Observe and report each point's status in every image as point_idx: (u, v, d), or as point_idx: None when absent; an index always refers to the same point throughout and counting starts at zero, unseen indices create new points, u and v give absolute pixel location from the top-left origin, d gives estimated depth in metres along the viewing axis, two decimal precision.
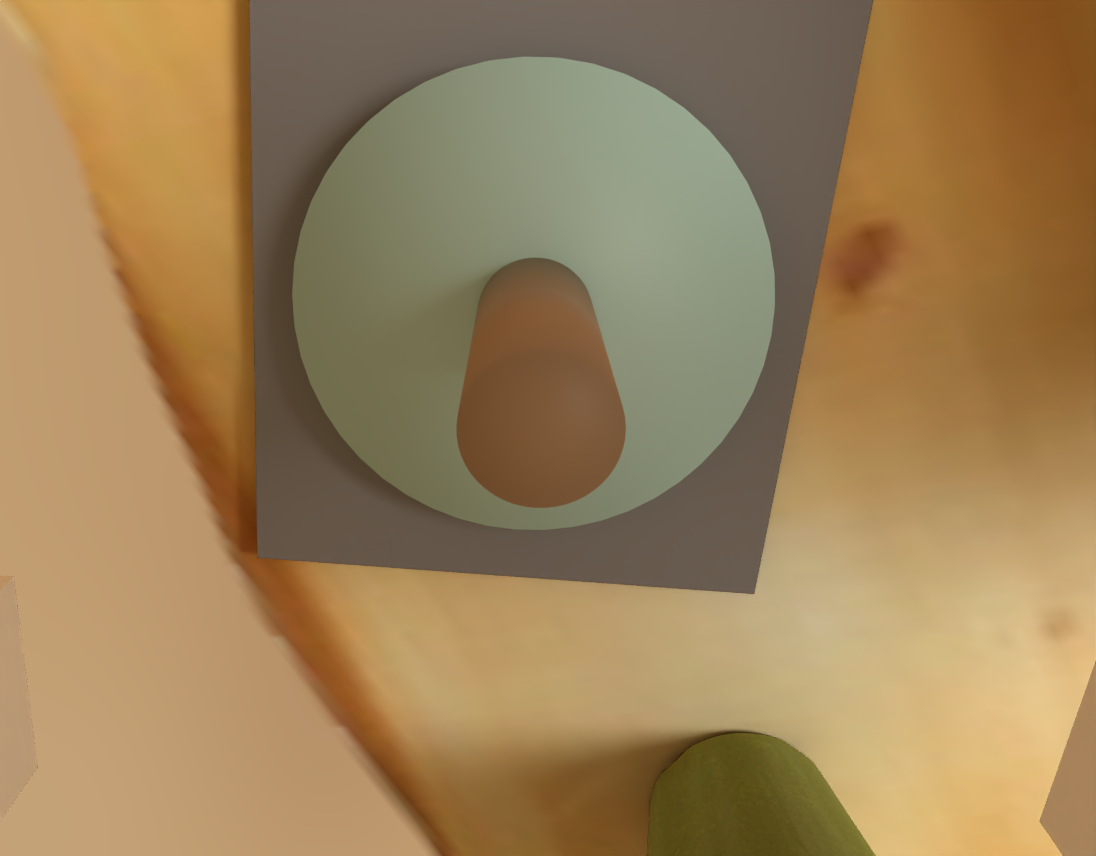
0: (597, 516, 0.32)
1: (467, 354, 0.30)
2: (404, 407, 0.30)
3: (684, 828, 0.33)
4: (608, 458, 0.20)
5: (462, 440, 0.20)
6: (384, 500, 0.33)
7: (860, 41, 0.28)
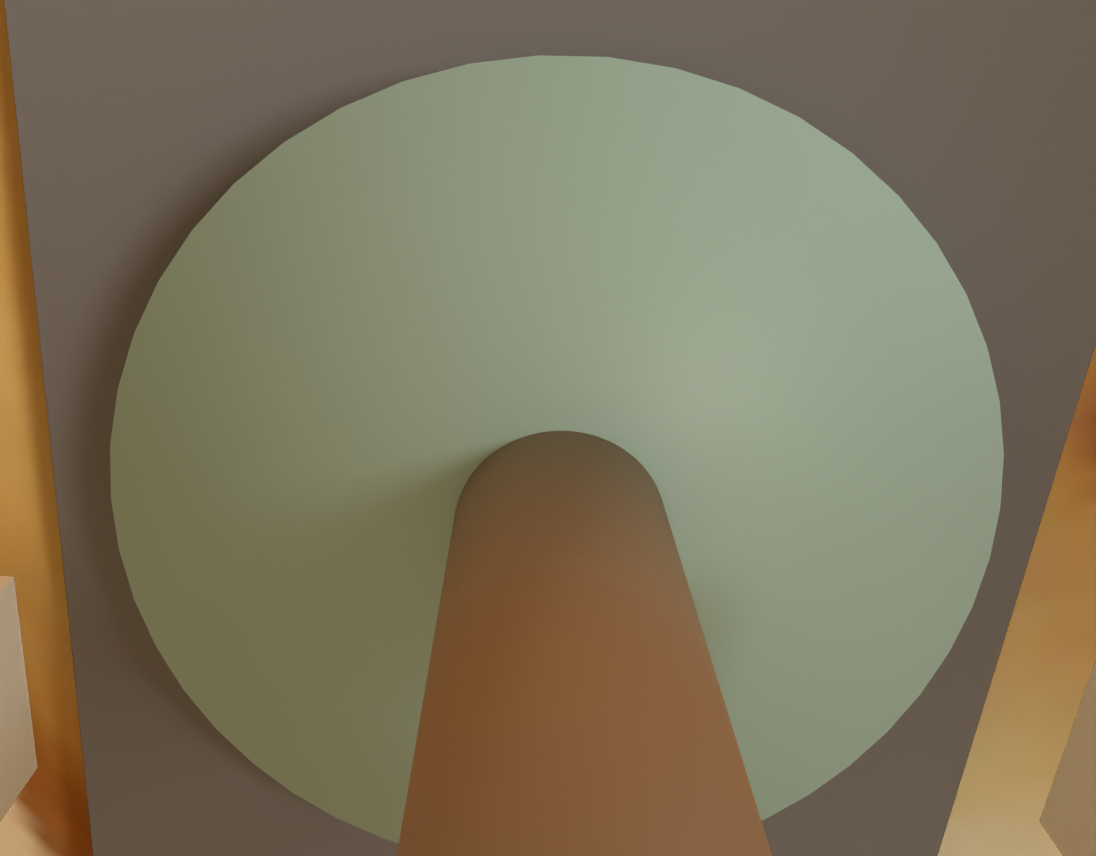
0: None
1: (437, 596, 0.16)
2: (326, 683, 0.17)
3: None
4: None
5: None
6: (304, 804, 0.19)
7: None
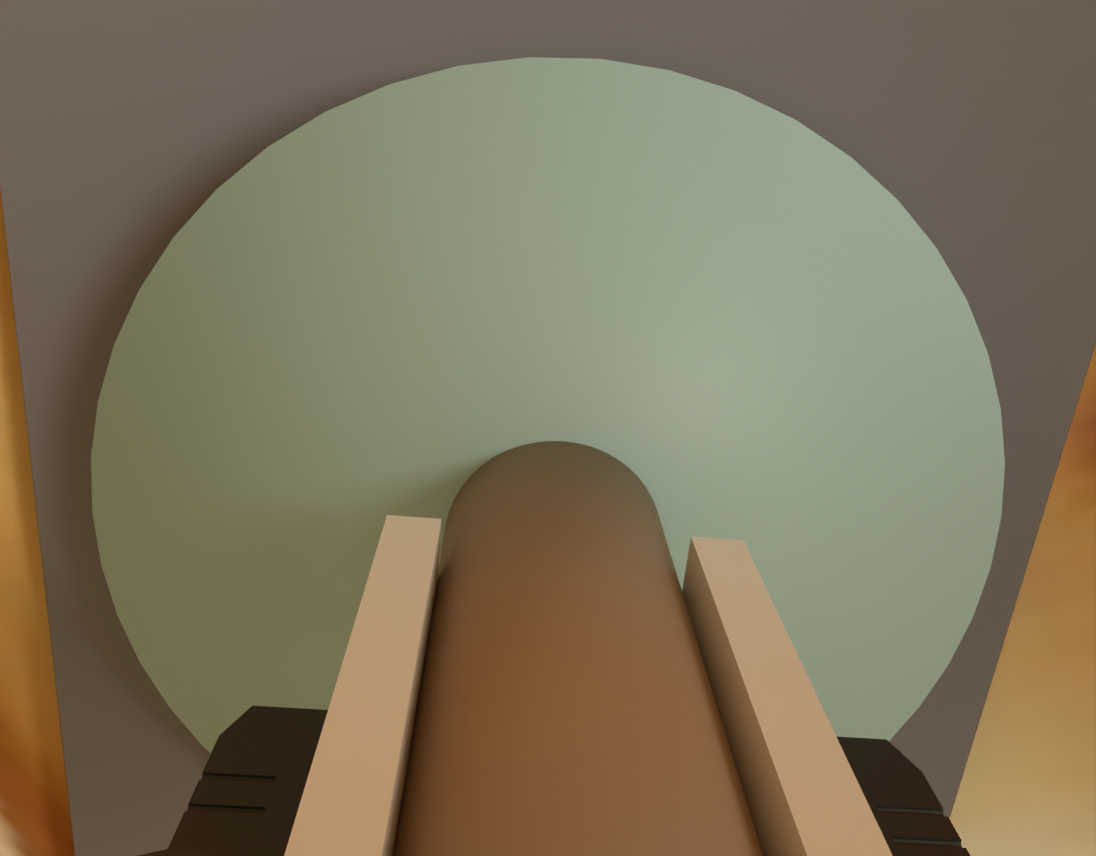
0: None
1: None
2: (314, 698, 0.17)
3: None
4: None
5: None
6: None
7: None
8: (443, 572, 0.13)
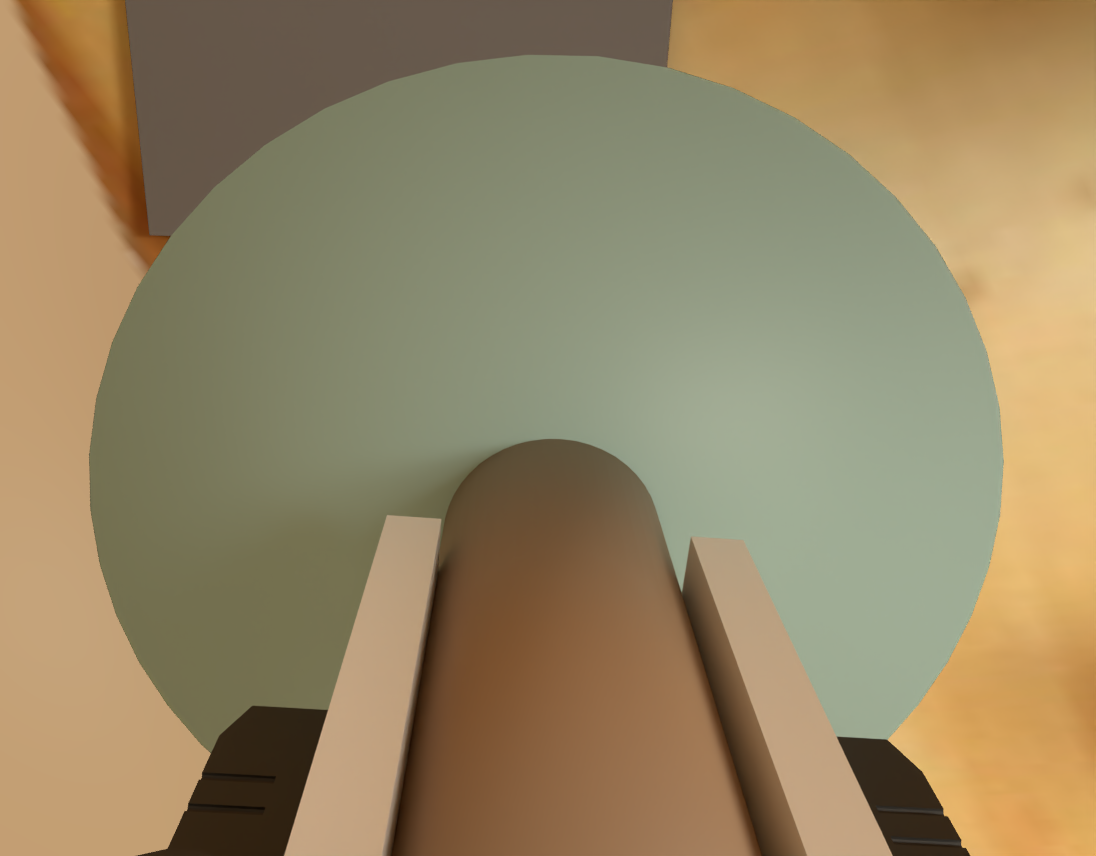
0: None
1: None
2: (313, 697, 0.17)
3: None
4: None
5: None
6: None
7: None
8: (441, 570, 0.13)
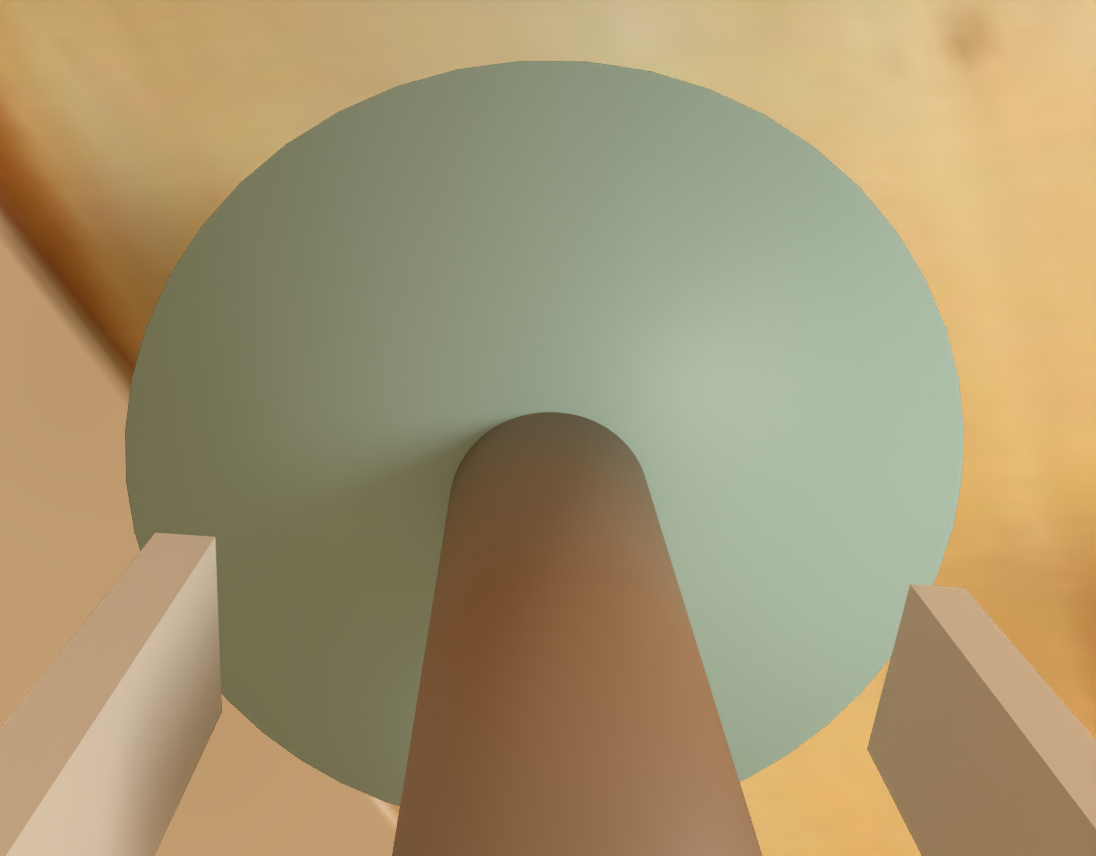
0: None
1: (434, 570, 0.17)
2: (331, 654, 0.18)
3: None
4: None
5: None
6: None
7: None
8: (449, 528, 0.14)
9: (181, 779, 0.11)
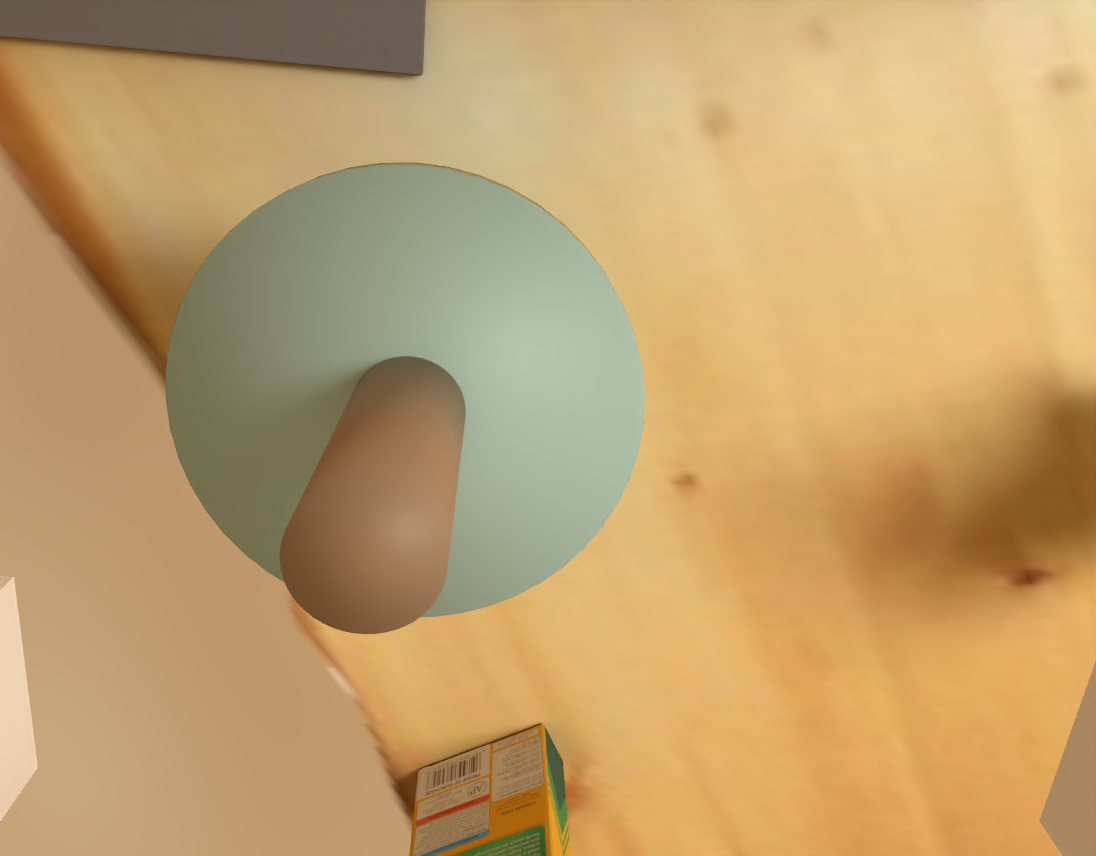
0: (485, 601, 0.32)
1: None
2: (285, 504, 0.31)
3: None
4: (433, 585, 0.20)
5: (287, 573, 0.20)
6: None
7: None
8: None
9: None
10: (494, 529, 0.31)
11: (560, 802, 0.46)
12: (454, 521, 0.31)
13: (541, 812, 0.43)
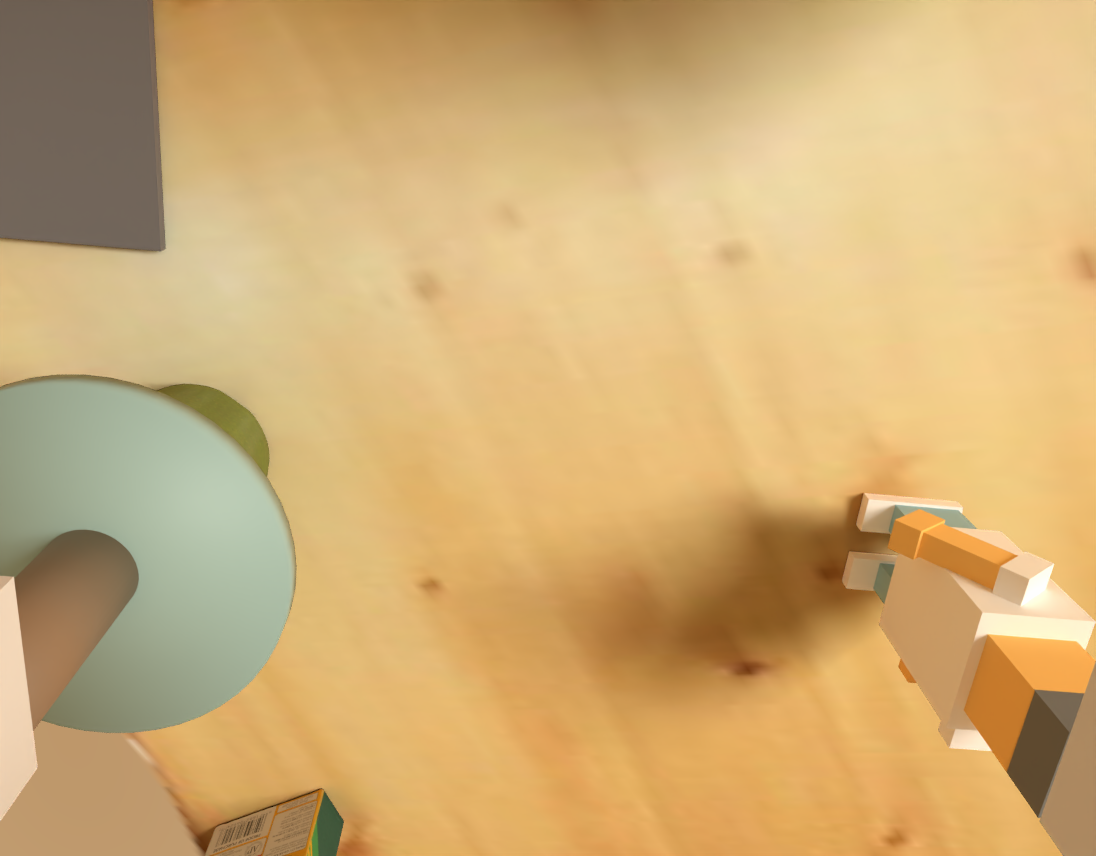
0: (175, 721, 0.38)
1: None
2: None
3: None
4: None
5: None
6: None
7: None
8: None
9: None
10: (174, 664, 0.37)
11: None
12: (140, 657, 0.37)
13: None
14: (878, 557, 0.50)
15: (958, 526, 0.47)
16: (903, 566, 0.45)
